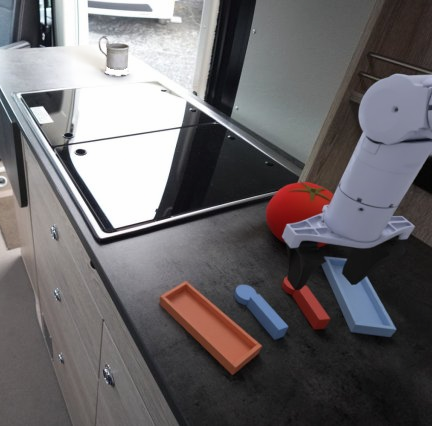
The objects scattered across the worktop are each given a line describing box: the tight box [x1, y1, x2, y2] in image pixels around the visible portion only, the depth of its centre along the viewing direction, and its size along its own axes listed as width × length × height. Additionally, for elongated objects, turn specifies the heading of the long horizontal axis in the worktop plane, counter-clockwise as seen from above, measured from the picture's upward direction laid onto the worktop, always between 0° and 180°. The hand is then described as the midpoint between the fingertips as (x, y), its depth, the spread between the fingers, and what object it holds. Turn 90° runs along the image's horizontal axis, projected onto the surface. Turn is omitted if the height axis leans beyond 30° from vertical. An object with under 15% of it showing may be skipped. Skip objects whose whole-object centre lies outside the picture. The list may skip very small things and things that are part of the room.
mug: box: [98, 35, 130, 70], centre depth 142 cm, size 14×10×12 cm
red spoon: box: [281, 276, 331, 330], centre depth 54 cm, size 9×3×2 cm, turn 7°
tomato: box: [265, 180, 334, 248], centre depth 64 cm, size 11×12×10 cm
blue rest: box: [321, 256, 397, 338], centre depth 56 cm, size 14×5×2 cm, turn 172°
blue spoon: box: [233, 284, 289, 341], centre depth 53 cm, size 9×3×2 cm, turn 21°
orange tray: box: [158, 280, 263, 376], centre depth 51 cm, size 14×5×2 cm, turn 36°
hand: (321, 281), depth 47 cm, fingers open, 7 cm apart
